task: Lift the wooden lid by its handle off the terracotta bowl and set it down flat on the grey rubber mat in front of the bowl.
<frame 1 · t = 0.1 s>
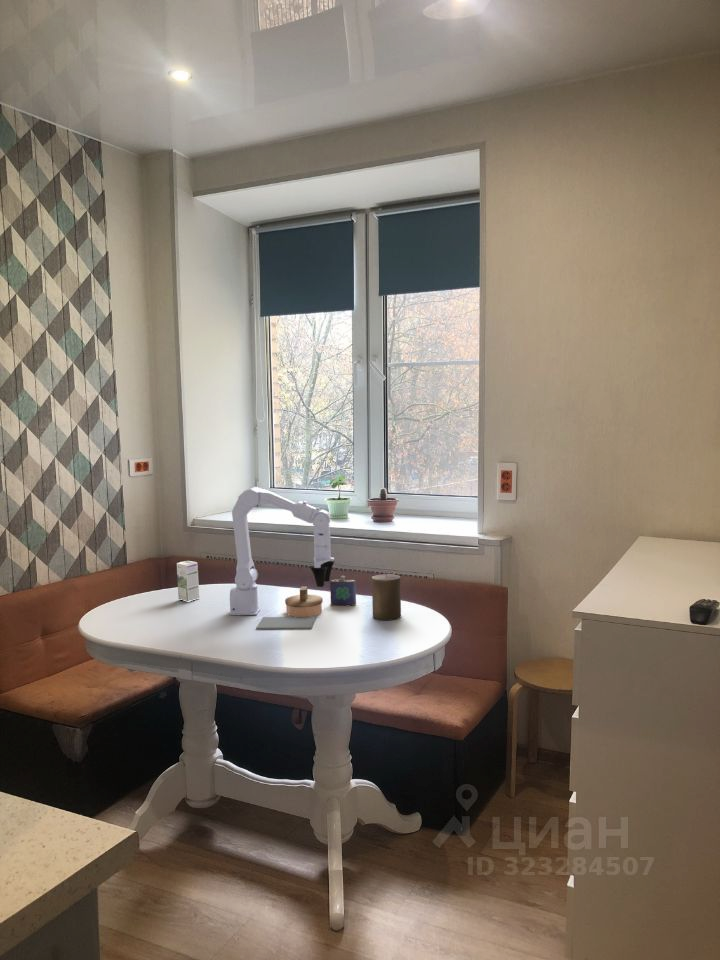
hand: (323, 583, 253), 10 cm above the table, tool pointing down, fingers open, 7 cm apart
syrup box: (189, 600, 274), on the table
lid: (303, 602, 255), point 3 cm above the table, touching bowl
mat: (286, 623, 241), on the table
bowl: (304, 611, 255), on the table
pillar candle: (386, 617, 247), on the table
flask: (343, 605, 263), on the table
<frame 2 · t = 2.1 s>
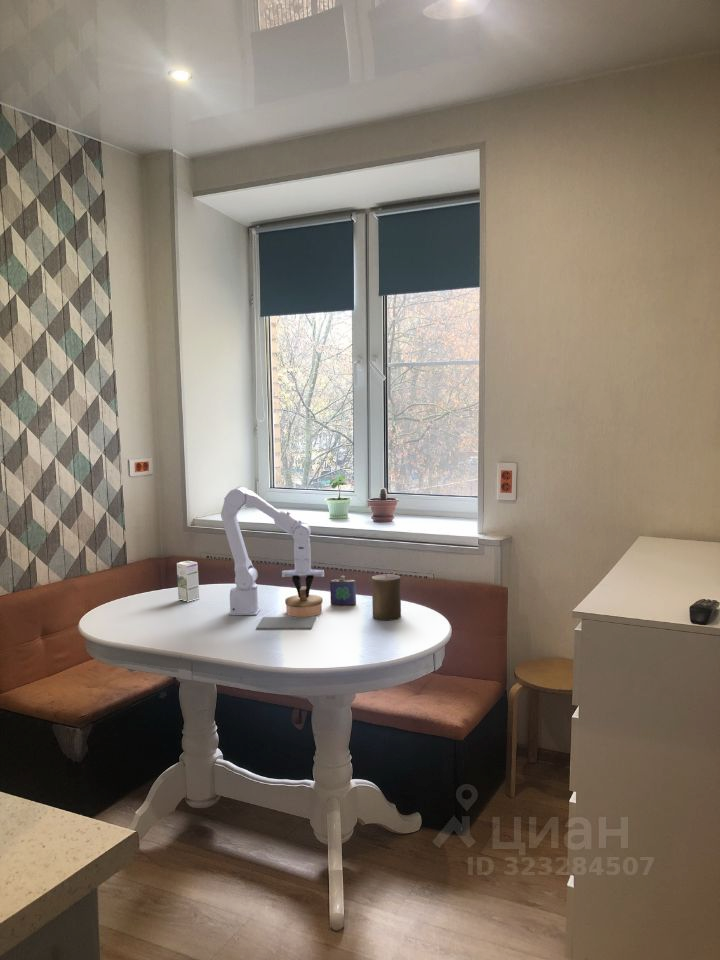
hand: (303, 596, 254), 5 cm above the table, tool pointing down, fingers closed on lid
lid: (303, 602, 255), point 3 cm above the table, touching bowl, gripper
everything else where it was.
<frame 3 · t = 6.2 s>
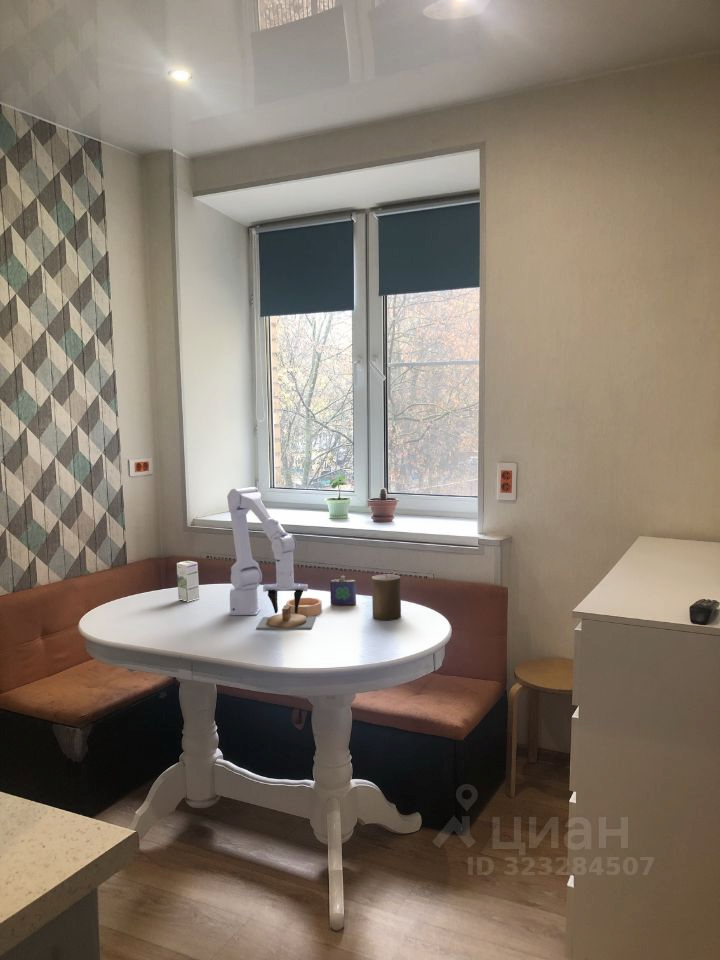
hand: (286, 612, 241), 4 cm above the table, tool pointing down, fingers open, 6 cm apart
lid: (286, 621, 242), point 1 cm above the table, touching mat
everything else where it was.
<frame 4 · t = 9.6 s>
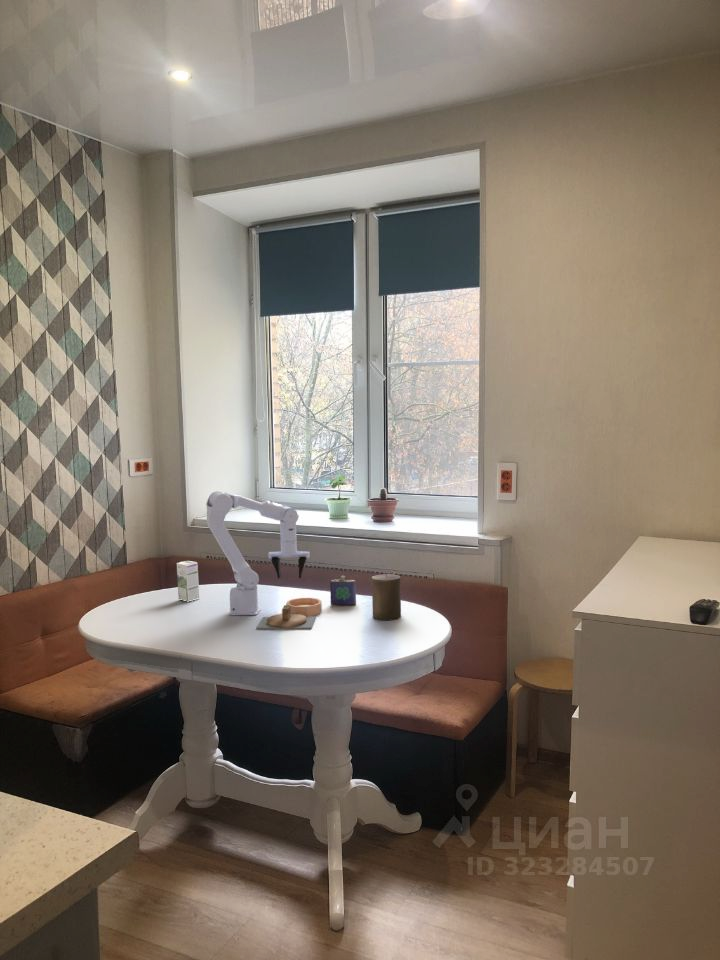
hand: (289, 577, 262), 10 cm above the table, tool pointing down, fingers open, 7 cm apart
nothing on the table moved.
at the end: lid inside the target area on the mat (0.4 cm from its centre), point 0.6 cm above the mat's base; lid tilted 0°; lid touching mat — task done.
